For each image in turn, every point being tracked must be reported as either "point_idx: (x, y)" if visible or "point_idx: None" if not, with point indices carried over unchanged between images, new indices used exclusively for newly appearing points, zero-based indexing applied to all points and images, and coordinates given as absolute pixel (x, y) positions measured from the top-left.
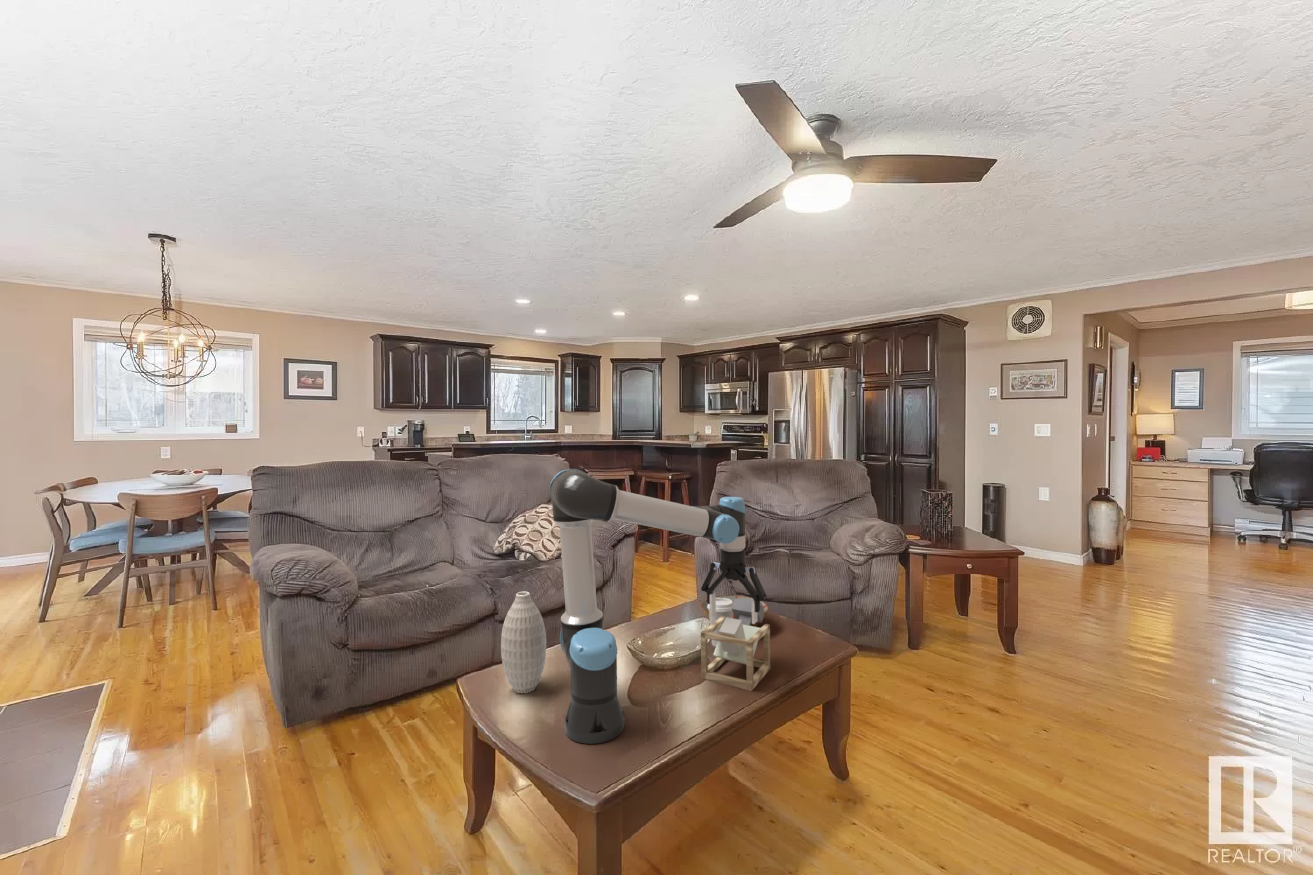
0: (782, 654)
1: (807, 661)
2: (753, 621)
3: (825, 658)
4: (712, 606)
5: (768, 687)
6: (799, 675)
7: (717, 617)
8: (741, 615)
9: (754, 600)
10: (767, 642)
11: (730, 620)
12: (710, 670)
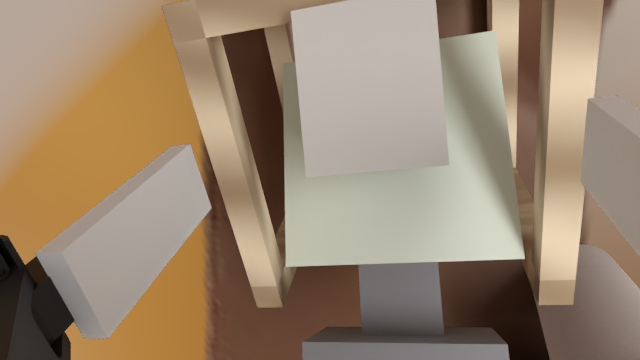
0: (331, 298)
1: (247, 290)
2: (168, 153)
3: (221, 326)
4: (632, 151)
5: (235, 59)
6: (212, 199)
7: (631, 341)
8: (431, 324)
9: (19, 270)
10: (280, 233)
11: (392, 139)
12: (490, 2)
